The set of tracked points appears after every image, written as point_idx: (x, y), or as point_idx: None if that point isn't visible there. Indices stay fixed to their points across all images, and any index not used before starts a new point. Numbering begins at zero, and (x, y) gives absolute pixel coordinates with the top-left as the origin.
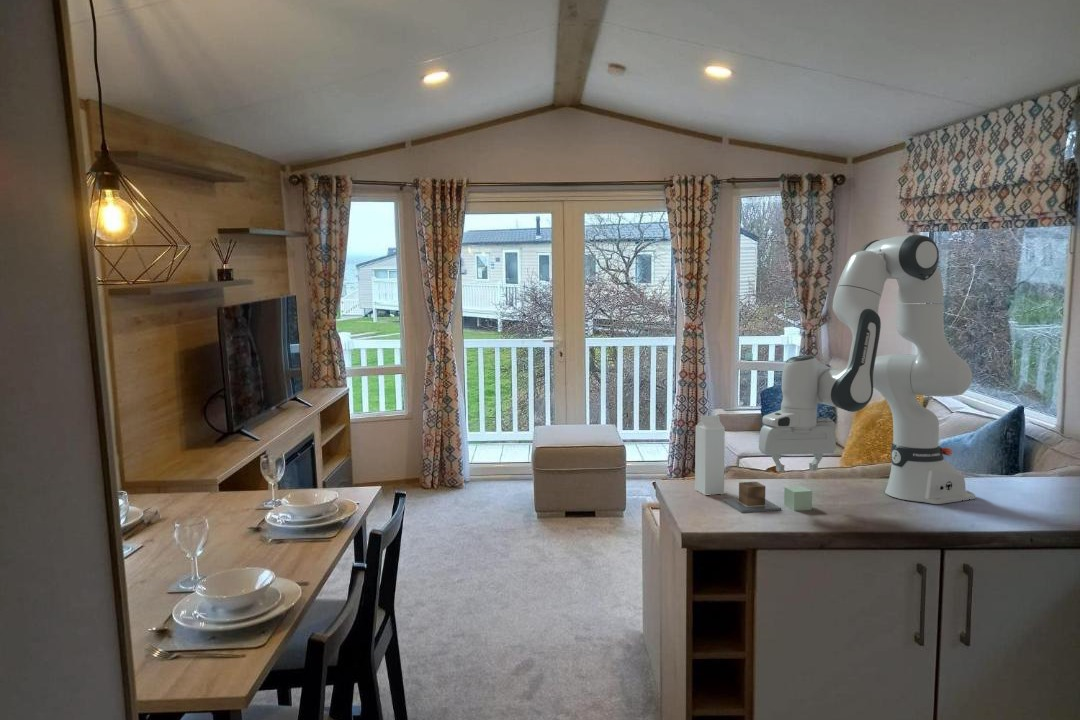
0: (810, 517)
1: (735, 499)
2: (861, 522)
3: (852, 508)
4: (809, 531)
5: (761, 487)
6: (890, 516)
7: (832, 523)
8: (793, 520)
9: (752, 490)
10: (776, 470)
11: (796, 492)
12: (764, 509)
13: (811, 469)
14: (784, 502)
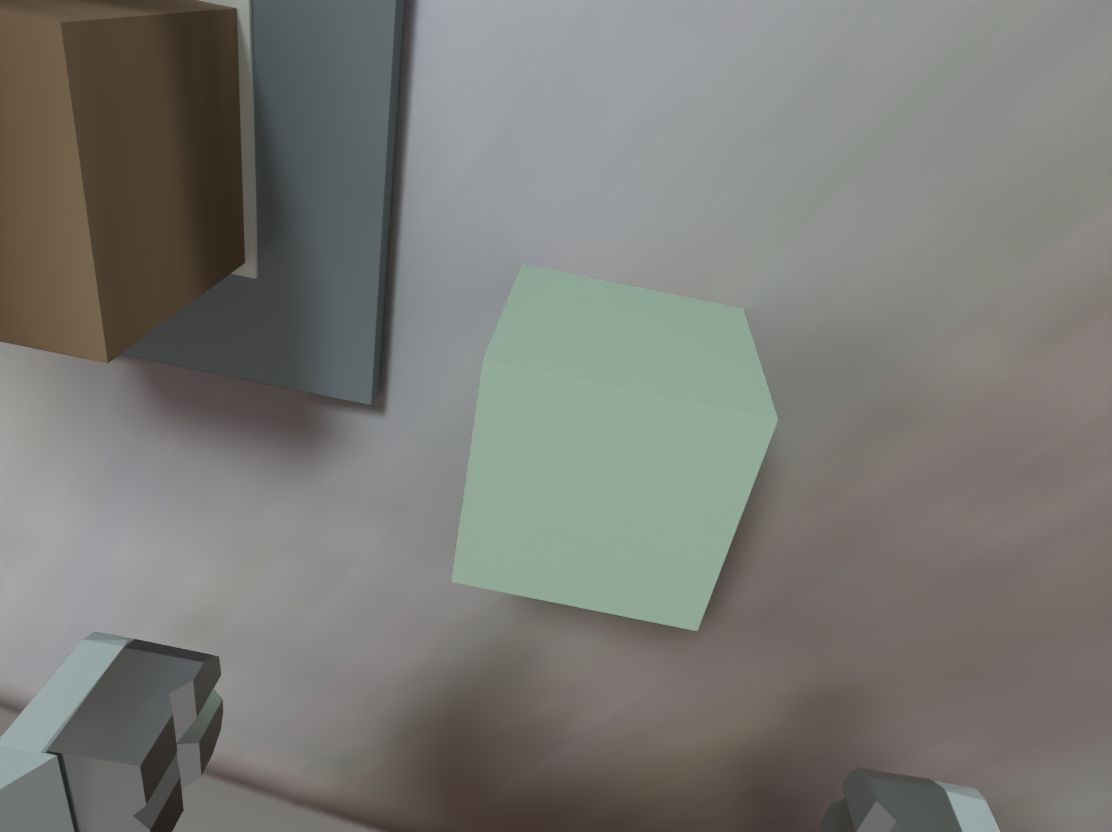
0: (497, 627)
1: None
2: (758, 814)
3: (1073, 605)
4: (292, 788)
5: (50, 344)
6: (1093, 821)
7: (550, 759)
8: (317, 625)
9: None
10: (98, 645)
11: (482, 581)
12: (183, 362)
13: (836, 830)
14: (517, 281)
